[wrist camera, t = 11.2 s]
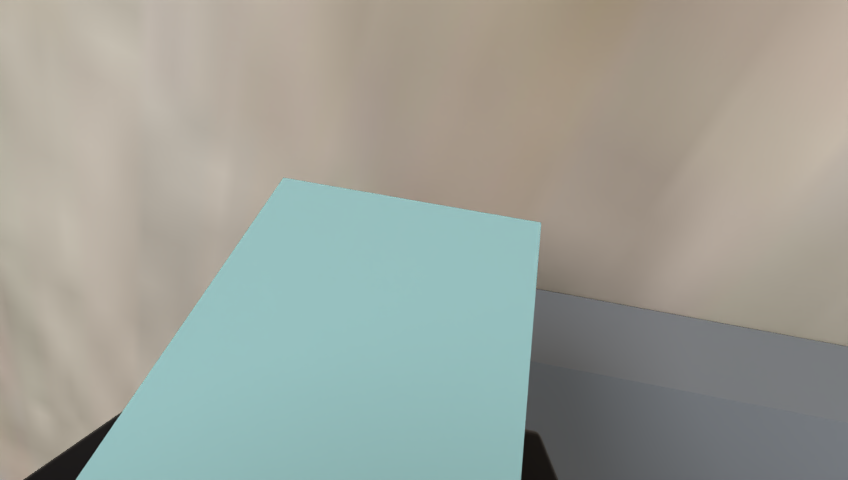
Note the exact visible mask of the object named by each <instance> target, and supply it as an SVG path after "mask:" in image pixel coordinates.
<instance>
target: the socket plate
mask: <svg viewBox="0 0 848 480" xmlns="http://www.w3.org/2000/svg"><path fill="white" fill-rule="evenodd" d="M525 429H528V430H533V431H536V432H538V433H539V434H540V436H541V437H542V440H543V442H544V445H545V447H546V450H547V452H548V455H549V457H550V460H551V462H552V465H553V467H554V470H555V472H556V475H557V477H558V480H848V347H847V346H841V345H836V344H831V343H825V342H820V341H814V340H809V339H804V338H798V337H793V336H788V335H782V334H777V333H771V332H766V331H761V330H755V329H750V328H744V327H739V326H734V325H728V324H723V323H717V322H712V321H707V320H701V319H696V318H691V317H685V316H680V315H674V314H669V313H664V312H658V311H653V310H647V309H642V308H637V307H631V306H626V305H621V304H615V303H610V302H604V301H599V300H594V299H588V298H583V297H577V296H572V295H567V294H561V293H556V292H551V291H545V290H540V289H536V294H535V307H534V319H533V332H532V345H531V357H530V370H529V383H528V396H527V408H526V421H525Z"/></svg>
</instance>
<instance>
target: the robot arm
mask: <svg viewBox="0 0 848 480" xmlns="http://www.w3.org/2000/svg"><path fill="white" fill-rule="evenodd" d="M122 412H123V411H122ZM122 412H121V413H122ZM121 413H120V414H118V415H117V416H115V417H114V418H112V419H111V420H109V421H108V422H106V423H105V424H104V425H102V426H101V427H99V428H98V429H96V430H95V431H93V432H92V433H91V434H89V435H88V436H86V437H85V438H83V439H82V440H80V441H79V442H77V443H76V444H75V445H73V446H72V447H70V448H69V449H67V450H66V451H64V452H63V453H61V454H60V455H59V456H57V457H56V458H54V459H53V460H51V461H50V462H48V463H47V464H46V465H44V466H43V467H41V468H40V469H38V470H37V471H35V472H34V473H32V474H31V475H30V476H28V477H27V478H25V479H24V480H76V479H77V477H78V476H79V474H80V473H81V471H82V470H83V468H84V467H85V465H86V464H87V463H88V461H89V460H90V458H91V457H92V455H93V454H94V452H95V451H96V449H97V448H98V447H99V445H100V444H101V442H102V441H103V439H104V438H105V436H106V435H107V433H108V432H109V431H110V429H111V428H112V426H113V425H114V423H115V422H116V420H117V419H118V417H119V416H120V415H121ZM521 480H558V477H557V475H556V472H555V470H554V467H553V465H552V462H551V460H550V457H549V455H548V452H547V450H546V447H545V445H544V442H543V440H542V437H541V436H540V434H539V433H538V432H536V431H533V430H528V429H525V434H524V447H523V459H522V472H521Z"/></svg>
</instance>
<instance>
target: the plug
mask: <svg viewBox="0 0 848 480" xmlns="http://www.w3.org/2000/svg"><path fill="white" fill-rule="evenodd" d="M540 230H541V223H540V222H534V221H528V220H523V219H517V218H511V217H506V216H500V215H494V214H488V213H483V212H477V211H471V210H465V209H460V208H454V207H448V206H443V205H437V204H431V203H425V202H420V201H414V200H408V199H402V198H397V197H391V196H385V195H380V194H374V193H368V192H362V191H357V190H351V189H345V188H339V187H334V186H328V185H322V184H316V183H311V182H305V181H299V180H294V179H288V178H283V179H282V181H281V182H280V184H279V185H278V186H277V188H276V189H275V191H274V192H273V194H272V195H271V197H270V198H269V200H268V201H267V202H266V204H265V205H264V207H263V208H262V210H261V211H260V213H259V214H258V215H257V217H256V218H255V220H254V221H253V223H252V224H251V226H250V227H249V229H248V230H247V231H246V233H245V234H244V236H243V237H242V239H241V240H240V242H239V243H238V245H237V246H236V247H235V249H234V250H233V252H232V253H231V255H230V256H229V258H228V259H227V261H226V262H225V263H224V265H223V266H222V268H221V269H220V271H219V272H218V274H217V275H216V277H215V278H214V279H213V281H212V282H211V284H210V285H209V287H208V288H207V290H206V291H205V293H204V294H203V295H202V297H201V298H200V300H199V301H198V303H197V304H196V306H195V307H194V309H193V310H192V311H191V313H190V314H189V316H188V317H187V319H186V320H185V322H184V323H183V324H182V326H181V327H180V329H179V330H178V332H177V333H176V335H175V336H174V338H173V339H172V340H171V342H170V343H169V345H168V346H167V348H166V349H165V351H164V352H163V354H162V355H161V356H160V358H159V359H158V361H157V362H156V364H155V365H154V367H153V368H152V370H151V371H150V372H149V374H148V375H147V377H146V378H145V380H144V381H143V383H142V384H141V386H140V387H139V388H138V390H137V391H136V393H135V394H134V396H133V397H132V399H131V400H130V402H129V403H128V404H127V406H126V407H125V409H124V410H123V412H122V413H121V415H120V416H119V417H118V419H117V420H116V422H115V423H114V425H113V426H112V428H111V429H110V431H109V432H108V433H107V435H106V436H105V438H104V439H103V441H102V442H101V444H100V445H99V447H98V448H97V449H96V451H95V452H94V454H93V455H92V457H91V458H90V460H89V461H88V463H87V464H86V465H85V467H84V468H83V470H82V471H81V473H80V474H79V476H78V477H77V479H76V480H521V472H522V459H523V447H524V434H525V421H526V408H527V396H528V383H529V370H530V357H531V345H532V332H533V319H534V307H535V294H536V281H537V268H538V256H539V243H540Z"/></svg>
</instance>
